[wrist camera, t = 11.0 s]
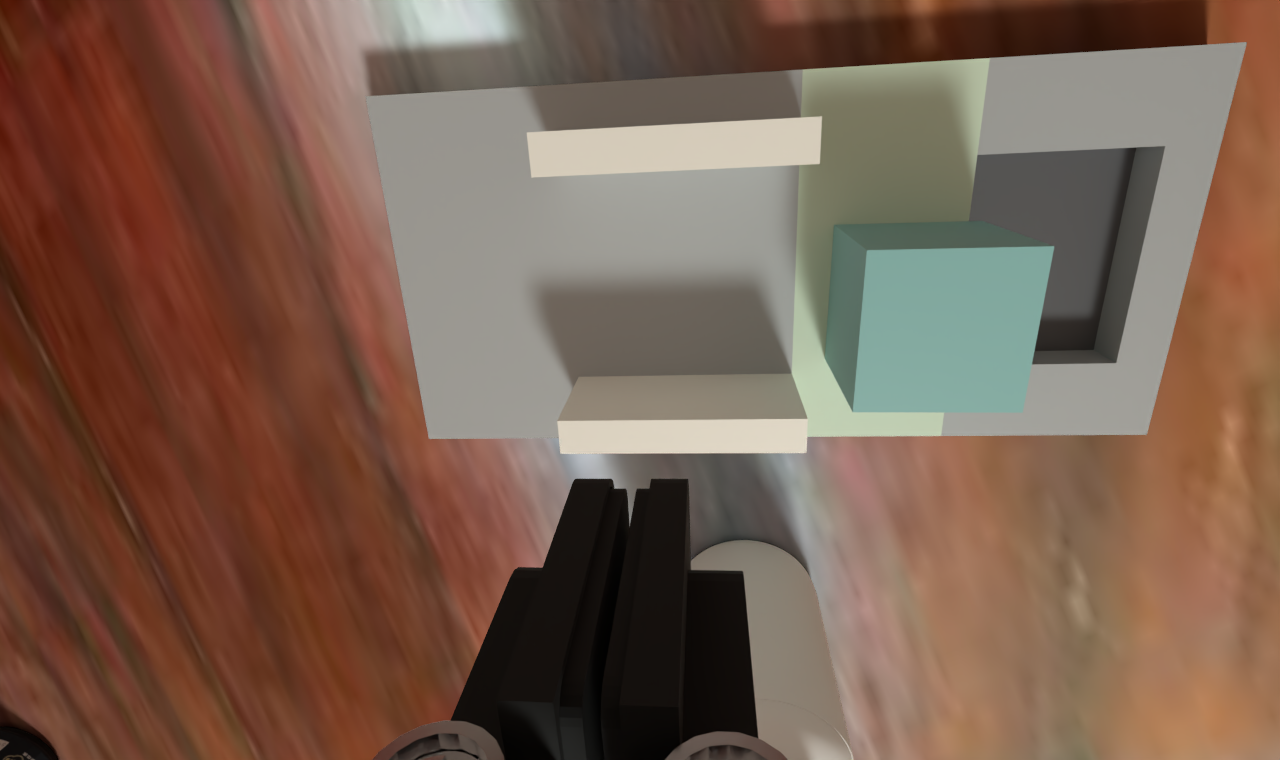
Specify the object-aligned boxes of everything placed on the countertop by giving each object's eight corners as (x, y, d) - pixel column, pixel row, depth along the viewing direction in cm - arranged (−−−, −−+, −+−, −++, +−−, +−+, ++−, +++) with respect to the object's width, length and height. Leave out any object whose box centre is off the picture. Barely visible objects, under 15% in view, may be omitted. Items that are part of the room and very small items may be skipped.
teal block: (833, 224, 28) (866, 250, 22) (982, 220, 27) (1054, 246, 22) (824, 358, 30) (852, 412, 24) (961, 357, 29) (1022, 412, 24)
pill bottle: (647, 572, 38) (614, 837, 24) (770, 512, 35) (814, 764, 21) (719, 666, 40) (728, 961, 26) (840, 614, 37) (921, 905, 24)
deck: (386, 98, 29) (296, 90, 23) (1207, 48, 26) (1376, 23, 19) (443, 422, 35) (384, 489, 29) (1120, 416, 32) (1228, 491, 25)
